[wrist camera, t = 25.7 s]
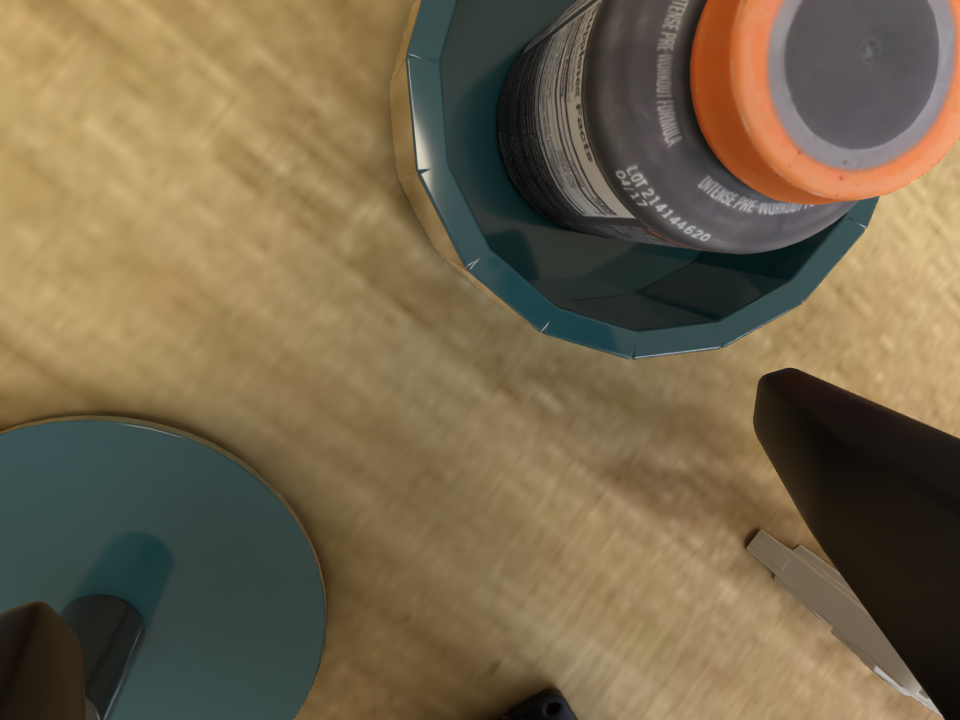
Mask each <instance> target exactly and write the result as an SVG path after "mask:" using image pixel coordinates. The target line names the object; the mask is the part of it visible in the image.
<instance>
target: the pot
mask: <svg viewBox="0 0 960 720" xmlns="http://www.w3.org/2000/svg"><path fill="white" fill-rule="evenodd" d="M576 1H577V0H414V3H413V5H412V9H411V12H410V16H409V19H408V23H407V26H406V30H405V33H404V37H403V40H402V43H401V46H400V49H399V53H398V58H397V61H396V65H395V68H394V72H393V75H392V79H391V82H390V86H389V88H390V89H389V98H390V108H391V129H392V140H393V146H394V152H395V158H396V168H397V176H398V177H399V181H400V183H401V185H402V187H403V189H404V191H405V193H406V195H407V197H408V200H409V202H410V204H411V206H412V209H413V211H414V213H415V215H416V217H417V219H418V220H419V222H420V224H421V225H422V227H423V229H424V230H425V232H426V233H427V235H428V237H429V239H430V241H431V243H432V245H433V247H434V249H435V250H436V251H437V252H438V254H439V255H440V256H441V257H442V258H444V259H445V260H446V261H447V262H448V263H450V264H451V265H452V266H453V267H454V268H456V269H457V270H458V271H459V272H460V273H461V274H462V275H463V276H464V277H466V278H467V279H469V280H470V281H471V282H472V283H473V284H475V285H476V286H477V287H478V288H479V289H480V290H482V291H483V292H484V293H485V294H486V295H488V296H489V297H490V298H491V299H492V300H494V301H495V302H496V303H498V304H499V305H501V306H502V307H503V308H505V309H506V310H508V311H509V312H511V313H512V314H514V315H515V316H517V317H518V318H520V319H521V320H523V321H524V322H525V323H527V324H528V325H530V326H531V327H533V328H534V329H536V330H537V331H539V332H541V333H543V334H544V335H548V336H551V337H554V338H558V339H561V340H564V341H568V342H571V343H574V344H578V345H581V346H585V347H588V348H591V349H595V350H598V351H601V352H605V353H608V354H612V355H615V356H618V357H622V358H625V359H634V360H636V359H644V358H652V357H660V356H668V355H676V354H684V353H692V352H700V351H708V350H716V349H720V348H723V347H726V346H728V345H729V344H731V343H733V342H735V341H737V340H738V339H740V338H742V337H744V336H746V335H747V334H749V333H751V332H753V331H755V330H756V329H758V328H760V327H762V326H763V325H765V324H767V323H769V322H771V321H772V320H774V319H776V318H778V317H780V316H781V315H783V314H785V313H787V312H789V311H790V310H792V309H794V308H796V307H797V306H799V305H801V304H802V302H804V301H806V299H807V298H808V297H809V296H810V295H811V294H812V292H813V291H814V290H815V289H816V288H817V287H818V285H819V284H820V283H821V282H822V281H823V280H824V278H825V277H826V276H827V275H828V274H829V273H830V271H831V270H832V269H833V268H834V267H835V265H836V264H837V263H838V262H839V261H840V260H841V258H842V257H843V256H844V255H845V254H846V253H847V251H848V250H849V249H850V248H851V247H852V246H853V244H854V243H855V242H856V241H857V240H858V239H859V237H860V236H861V235H862V234H863V233H864V231H865V229H866V228H867V227H868V225H869V222H870V220H871V217H872V215H873V212H874V210H875V207H876V204H877V202H878V199H879V197H880V196H876V197H873V198H869V199H863V200H859V201H858V202H857V203H856V204H855V205H854V206H853V207H852V208H851V209H850V210H849V211H848V212H847V213H846V214H844V215H843V216H842V217H840V218H839V219H838V220H836V221H835V222H834V223H833V224H831V225H829V226H828V227H826V228H825V229H823V230H821V231H820V232H818V233H816V234H814V235H813V236H811V237H809V238H807V239H804V240H802V241H800V242H798V243H794V244H792V245H789V246H786V247H783V248H779V249H775V250H771V251H767V252H760V253H753V254H730V253H720V252H710V251H698V250H693V249H688V248H679V247H672V246H662V245H656V244H649V243H640V242H629V241H625V240H620V239H610V238H603V237H597V236H594V235H589V234H581V233H577V232H574V231H571V230H568V229H566V228H564V227H561V226H559V225H557V224H555V223H553V222H550V221H548V220H547V219H545V218H544V217H543V216H541V215H540V214H539V213H538V212H536V211H535V210H534V209H533V208H532V207H531V206H530V205H529V204H528V203H527V202H526V201H525V200H524V199H523V197H522V196H521V195H520V194H519V192H518V191H517V190H516V188H515V187H514V185H513V183H512V182H511V180H510V178H509V176H508V174H507V171H506V169H505V167H504V164H503V161H502V158H501V155H500V150H499V144H498V133H497V111H498V103H499V99H500V95H501V91H502V87H503V84H504V81H505V79H506V76H507V74H508V72H509V70H510V68H511V66H512V65H513V63H514V61H515V60H516V58H517V56H518V55H519V53H520V52H521V51H522V49H523V48H524V47H525V46H526V45H527V43H528V42H530V41H531V40H532V39H533V38H534V37H535V36H536V35H537V34H538V33H539V32H540V31H541V30H542V29H543V28H545V27H546V26H547V25H548V24H550V23H551V22H552V21H553V20H555V19H556V18H557V17H558V16H559V15H560V14H561V13H563V12H564V11H565V10H566V9H568V8H569V7H570V6H571V5H572V4H574V3H575V2H576Z"/></svg>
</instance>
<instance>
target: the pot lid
mask: <svg viewBox="0 0 960 720" xmlns="http://www.w3.org/2000/svg"><path fill="white" fill-rule="evenodd" d="M39 600H40V601H43V602H46V603H47V604H48V605H50V606H51V607H52V609H53V610H54V611H55V612H56V613H57V614H58V615H59V616H60V617H61V618H62V619H63V620H64V622H65V623H66V624H67V625H68V626H69V627H70V628H71V629H72V630H73V631H74V632H75V633H76V635H77V636H78V638H79V640H80V642H81V645H82V649H83V656H84V682H85V708H86V720H293V719H294V718H295V717H296V715H297V714H298V713H299V711H300V709H301V707H302V705H303V703H304V702H305V700H306V698H307V696H308V694H309V692H310V690H311V688H312V685H313V683H314V680H315V677H316V675H317V672H318V669H319V667H320V662H321V658H322V653H323V649H324V644H325V633H326V619H327V607H326V594H325V585H324V580H323V576H322V572H321V567H320V563H319V560H318V557H317V555H316V552H315V550H314V547H313V545H312V542H311V539H310V537H309V536H308V534H307V532H306V530H305V529H304V527H303V525H302V523H301V521H300V520H299V518H298V516H297V515H296V513H295V512H294V511H293V510H292V508H291V507H290V506H289V504H288V503H287V502H286V500H285V499H284V498H283V497H282V495H281V494H280V493H279V492H278V491H277V490H276V489H275V488H274V487H273V486H272V485H271V484H270V483H269V482H268V481H267V480H266V479H265V478H264V477H263V476H262V475H261V474H259V473H258V472H257V471H255V470H254V469H253V468H251V467H250V466H249V465H247V464H246V463H245V462H243V461H242V460H241V459H239V458H238V457H236V456H235V455H233V454H231V453H230V452H228V451H226V450H224V449H223V448H221V447H219V446H217V445H216V444H214V443H212V442H210V441H207V440H205V439H203V438H200V437H198V436H195V435H193V434H191V433H188V432H186V431H183V430H180V429H177V428H173V427H170V426H166V425H163V424H159V423H156V422H151V421H145V420H139V419H133V418H126V417H117V416H95V415H85V416H71V417H57V418H51V419H46V420H41V421H36V422H30V423H25V424H22V425H18V426H15V427H12V428H9V429H6V430H3V431H0V614H1V613H2V612H4V611H6V610H8V609H11V608H14V607H17V606H20V605H23V604H27V603H30V602H33V601H39Z"/></svg>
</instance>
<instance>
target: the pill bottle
mask: <svg viewBox="0 0 960 720" xmlns="http://www.w3.org/2000/svg"><path fill="white" fill-rule="evenodd" d="M497 133H498V144H499V150H500V155H501V158H502V161H503V164H504V167H505V169H506V171H507V174H508V176H509V178H510V180H511V182H512V183H513V185H514V187H515V188H516V190H517V191H518V192H519V194H520V195H521V196H522V197H523V199H524V200H525V201H526V202H527V203H528V204H529V205H530V206H531V207H532V208H533V209H534V210H535V211H536V212H538V213H539V214H540V215H541V216H543V217H544V218H545V219H547V220H548V221H550V222H553V223H555V224H557V225H559V226H561V227H564V228H566V229H568V230H571V231H574V232H577V233H581V234H589V235H594V236H597V237H603V238H610V239H620V240H625V241H629V242H640V243H649V244H656V245H662V246H672V247H679V248H688V249H693V250H698V251H710V252H720V253H730V254H753V253H760V252H767V251H771V250H775V249H779V248H783V247H786V246H789V245H792V244H794V243H798V242H800V241H802V240H804V239H807V238H809V237H811V236H813V235H814V234H816V233H818V232H820V231H821V230H823V229H825V228H826V227H828V226H829V225H831V224H833V223H834V222H835V221H836V220H838V219H839V218H840V217H842V216H843V215H844V214H846V213H847V212H848V211H849V210H850V209H851V208H852V207H853V206H854V205H855V204H856V203H857V202H858V201H859V200H863V199H869V198H873V197H876V196H881V195H886V194H889V193H891V192H893V191H896V190H898V189H900V188H902V187H904V186H906V185H908V184H909V183H911V182H913V181H914V180H916V179H918V178H919V177H921V176H923V175H924V174H925V173H926V172H928V171H929V170H930V169H932V168H933V167H934V166H935V165H936V164H937V163H938V162H939V161H940V160H941V159H942V158H943V157H944V156H945V155H946V154H947V152H948V151H949V150H950V149H951V148H952V147H953V145H954V144H955V143H956V141H957V140H958V138H959V137H960V0H577V1H576V2H575V3H574V4H572V5H571V6H570V7H569V8H568V9H566V10H565V11H564V12H563V13H561V14H560V15H559V16H558V17H557V18H556V19H555V20H553V21H552V22H551V23H550V24H548V25H547V26H546V27H545V28H543V29H542V30H541V31H540V32H539V33H538V34H537V35H536V36H535V37H534V38H533V39H532V40H531V41H530V42H528V43H527V45H526V46H525V47H524V48H523V49H522V51H521V52H520V53H519V55H518V56H517V58H516V60H515V61H514V63H513V65H512V66H511V68H510V70H509V72H508V74H507V76H506V79H505V81H504V84H503V87H502V91H501V95H500V99H499V103H498V111H497Z"/></svg>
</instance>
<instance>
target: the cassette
mask: <svg viewBox="0 0 960 720" xmlns="http://www.w3.org/2000/svg"><path fill="white" fill-rule="evenodd" d="M746 550H747V551H748V552H750V553H751V554H752V555H753V556H754V557H755V558H757V559H758V560H759V561H760V562H761V563H762V564H764V565H765V566H766V567H767V568H768V569H769V570H770V571H772V572H773V573H774V574H775V576H774V579H773V580H774V581H775V582H776V583H777V584H779V585H780V586H781V587H783V588H784V589H785V590H786V591H787V592H789V593H790V594H791V595H792V596H794V597H795V598H796V599H797V600H798V601H800V602H801V603H802V604H803V605H804V606H806V607H807V608H808V609H809V610H810V611H812V612H813V613H814V614H815V615H816V616H818V617H819V618H820V619H822V620H823V621H825V622H826V623H827V624H829V625H830V626H832V627H833V629H832V631H831V632H832V634H833V635H834V636H836V637H837V638H838V639H839V640H840V641H841V642H842V643H843V644H845V645H846V646H847V647H848V648H849V649H850V650H851V651H853V652H854V653H855V654H856V655H857V656H858V657H859V658H860V659H861V661H862V662H863V663H864V664H865V665H866V666H867V667H869V668H870V669H871V670H872V671H873V672H874V673H876V674H877V675H878V676H879V677H880V678H882V679H883V680H884V681H886V682H887V683H888V684H889V685H891V686H892V687H893V688H895V689H896V690H898V691H899V692H901V693H902V694H904V695H905V696H909V695H910V696H912V697H913V698H915V699H916V700H918V701H919V702H921V703H922V704H924V705H925V706H927V707H928V708H930V709H931V710H933V711H934V712H936V713H937V714H939V715H940V716H942V715H941V714H940V712H939V711H938V709H937V708H936V707H935V705H934V704H933V703H932V701H931V700H930V698H929V697H928V696H927V694H926V693H925V691H924V690H923V689H922V687H921V686H920V684H919V683H918V682H917V680H916V679H915V677H914V676H913V675H912V673H911V672H910V670H909V669H908V668H907V666H906V665H905V663H904V662H903V661H902V659H901V658H900V657H899V655H898V654H897V652H896V651H895V650H894V648H893V647H892V645H891V644H890V643H889V641H888V640H887V638H886V637H885V636H884V634H883V633H882V631H881V630H880V629H879V627H878V626H877V624H876V623H875V622H874V620H873V619H872V617H871V616H870V615H869V613H868V612H867V611H866V609H865V608H864V606H863V605H862V604H861V602H860V601H859V599H858V598H857V597H856V595H855V594H854V592H853V591H852V590H851V588H850V587H849V585H848V584H847V583H846V581H845V580H844V578H843V577H842V576H841V574H840V573H839V571H838V570H836V569H835V568H833V567H832V566H831V565H829V564H828V563H826V562H825V561H824V560H822V559H821V558H819V557H818V556H817V555H815V554H814V553H812V552H811V551H810V550H808V549H807V548H805V547H804V546H803V545H799V546H798V547H797V548H795V549H793V550H791V549H790V548H788V547H786V546H785V545H783V544H782V543H780V542H779V541H778V540H776V539H775V538H773V537H772V536H771V535H769V534H768V533H766V532H765V531H764V530H762V529H761V530H760V531H759V532H758V533H757V535H756V536H755V537H754V539H753V540H752V541H751V542H750V544H749V545H748V546H747V548H746ZM942 717H943V716H942Z"/></svg>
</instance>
